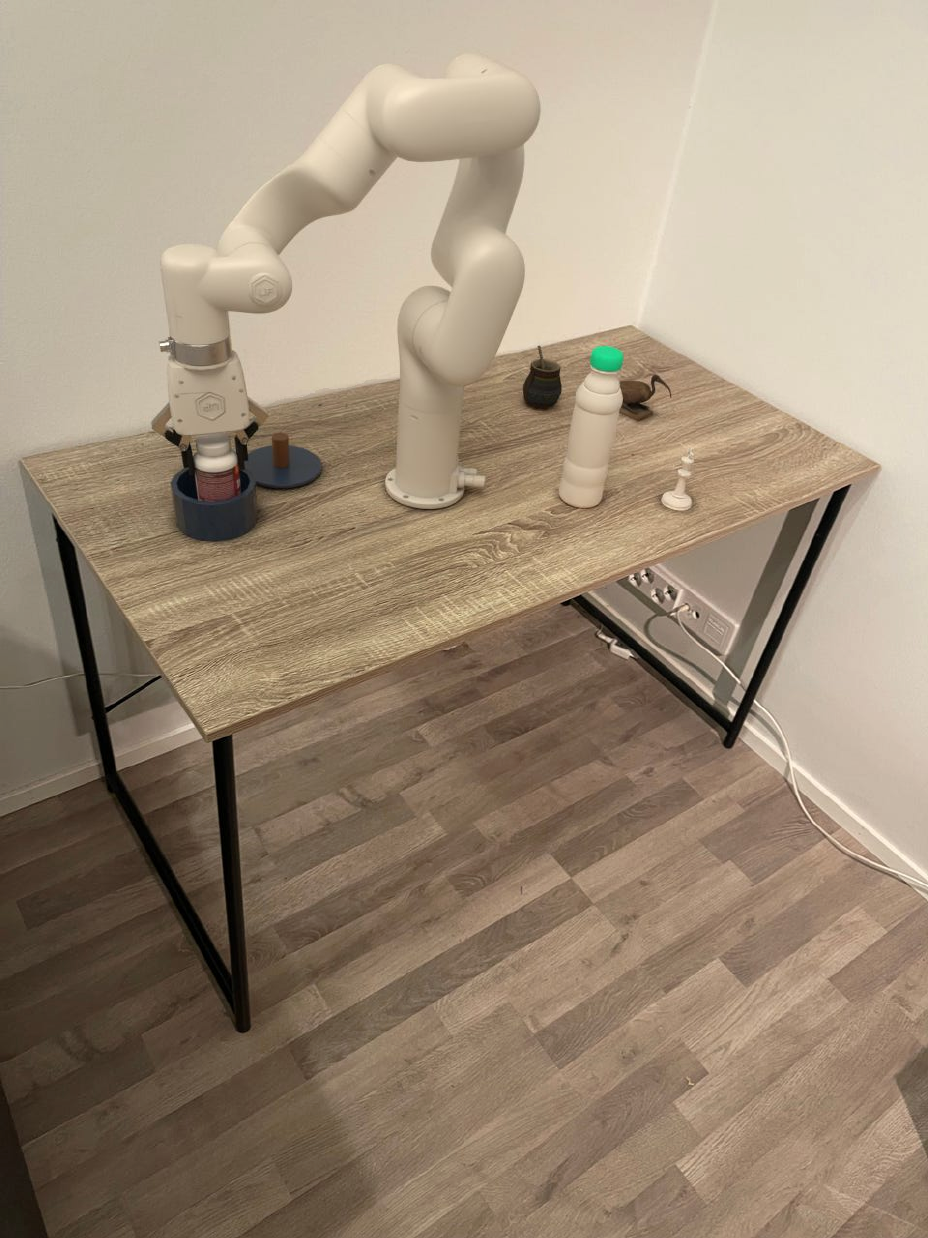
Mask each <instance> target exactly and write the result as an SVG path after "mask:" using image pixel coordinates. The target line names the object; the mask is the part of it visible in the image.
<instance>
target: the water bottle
mask: <svg viewBox="0 0 928 1238" xmlns="http://www.w3.org/2000/svg"><path fill="white" fill-rule="evenodd" d="M623 363H624V353H623V351H622V350H620V349H618V348H616V347H615V346H614V347H613V346H610V345H599V346H596V347H594V348H593V349H592V351H591V354H590V358H589V367H590V368H591V370H590V372H589V373H588V374H587V375H586V377H584V380H583V381H582V383H581V384H580V385H579V386H578V388H577V390H576V392H575V397H574V398H575V399H574V400H575V404H574V407H573V411H572V416H571V420H570V424H569V425H570V426H569V432H568V436H567V437H568V438H567V443H566V446H567V447H566V454H565V457H564V459H563V460H564V461H563V465H562V475H561V478H560V481H559V487H558V496H559V498H560V499H561V501H563V502H564V503H566V504H567V505H569V506H572V507H574V508H581V509H588V508H589V509H590V508H593V507H595V506H597V505H599V504H600V503H601V501H602V499H603V497H604V491H605V481H606V479H607V476H608V471H609V460H610V458H611V456H612V455H611V454H612V451H613V448H614V443H615V439H616V434H617V429H618V423H619V417H620V412H619V409H620V408H621V406H622V402H623V396H622V392H621V389H620V383H619V382H620V380H619V378H618V374H619V373H620V371H621V369H622V367H623Z"/></svg>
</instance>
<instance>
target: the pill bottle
mask: <svg viewBox="0 0 928 1238" xmlns="http://www.w3.org/2000/svg"><path fill="white" fill-rule="evenodd" d="M195 448H196V451H195V452H194V453H193V460H194V468H195V480H196V488H197V495H198V500H200V501H221V500H228V499H230V498H233V497H236V496H238V495H240V494H241V485H240V475H239V466H238V457H237V454H236V450H234V449H233V448H232V443H231V437H230V436H229V435H228V434H227V433H226V432H225V433H216V434H206V435H197V436H196V438H195Z"/></svg>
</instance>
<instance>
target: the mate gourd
mask: <svg viewBox="0 0 928 1238" xmlns="http://www.w3.org/2000/svg"><path fill="white" fill-rule="evenodd" d="M537 349H538V355H539V358H537V359H534V360H532V361H531V362H530V366H529V372H528V375H527V376H526V378H525V380H524V382H523V385H522V397H523V401H524V402H525V404H526V405H527V406H528V407H529V408H532V409H533V410H538V411H546V410H550V409H551V408H553V407H555V405H557V403H558V402H559V401H558V400H559V399H560V397H561V395H562V392H563V387H562V380H561V376H560V374H561V369H562V367H561V365H560V363H558V362H557V361H555V360H552V359H546V358H544V356H543V350H542V347H541V345H537Z"/></svg>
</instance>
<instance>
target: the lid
mask: <svg viewBox="0 0 928 1238" xmlns="http://www.w3.org/2000/svg"><path fill="white" fill-rule="evenodd" d="M244 464H245V468H246V469H247V470H249V471H250V472H252V473H253V476H254V478H255V480H256V485H259V486H261V487H262V486H263V487H265V488H273V489H289V488H290V489H291V488H296V487H301V486H305V485H306V484H309V483H311V482H313V481H314V480H316V479H317V478H318V476H320V474H321V471H322V462H321V459H320V457H319V456H318V455H316V454H315V453H314V452H313V451H311V450H309V449H306V448H304V447H301V446H296V445H291V444H290V437H289V434H287V433H285V432H275V433H272V434H271V445H266V446H262V447H257V448H256V449H253V450H252V451H249V452H248V461H244Z"/></svg>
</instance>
